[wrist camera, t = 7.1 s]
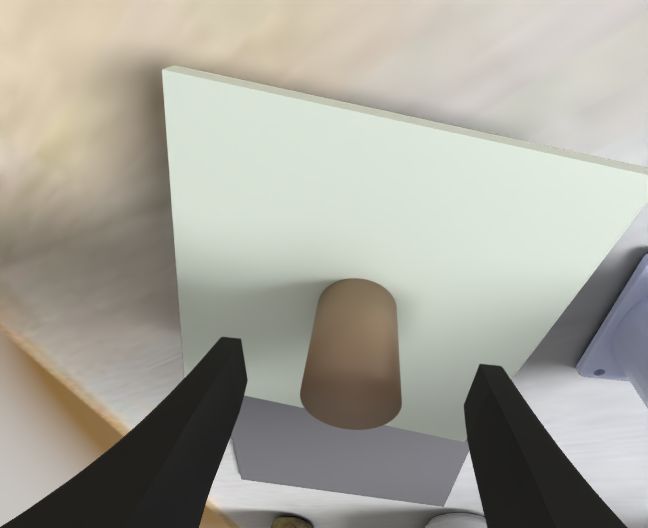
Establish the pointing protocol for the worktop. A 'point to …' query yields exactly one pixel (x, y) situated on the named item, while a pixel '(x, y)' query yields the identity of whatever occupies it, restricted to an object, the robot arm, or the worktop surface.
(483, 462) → the robot arm
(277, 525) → the fennel bulb
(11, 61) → the worktop surface
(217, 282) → the lid
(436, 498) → the mat
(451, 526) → the can
